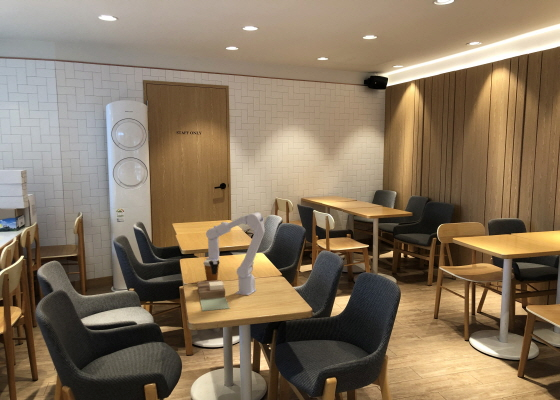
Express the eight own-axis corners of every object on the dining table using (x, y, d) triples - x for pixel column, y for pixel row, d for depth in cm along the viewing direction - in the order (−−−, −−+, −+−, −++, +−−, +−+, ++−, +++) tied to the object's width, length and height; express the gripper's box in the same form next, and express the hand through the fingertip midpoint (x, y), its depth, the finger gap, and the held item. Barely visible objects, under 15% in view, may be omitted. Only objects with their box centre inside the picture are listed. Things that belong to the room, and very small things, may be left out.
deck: (197, 288, 240) (197, 281, 240) (220, 286, 243) (220, 280, 243) (200, 300, 221) (199, 292, 221) (225, 297, 225) (225, 290, 224)
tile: (209, 286, 231) (208, 282, 231) (222, 285, 233) (221, 281, 232) (210, 290, 224) (210, 285, 224) (223, 289, 226) (223, 284, 226)
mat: (200, 299, 222) (200, 299, 222) (225, 297, 225) (225, 296, 225) (202, 311, 205) (202, 310, 205) (229, 308, 209) (229, 307, 209)
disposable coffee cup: (201, 282, 253) (200, 262, 252) (208, 277, 262) (207, 258, 261) (215, 283, 250) (215, 263, 249) (222, 278, 259) (222, 259, 258)
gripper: (205, 247, 241) (205, 271, 242) (207, 253, 227) (208, 278, 228) (217, 246, 242) (218, 270, 244) (220, 252, 228) (221, 277, 230)
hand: (214, 274), depth 236 cm, fingers closed
